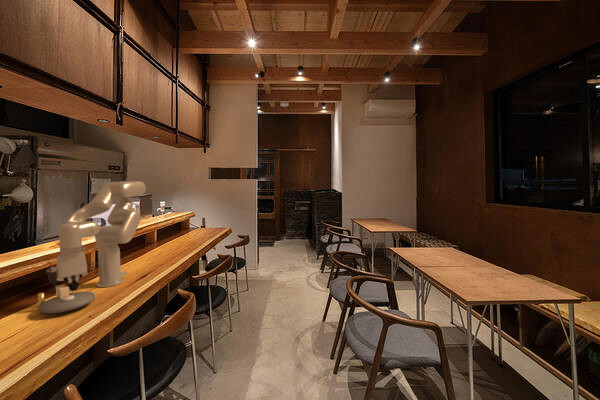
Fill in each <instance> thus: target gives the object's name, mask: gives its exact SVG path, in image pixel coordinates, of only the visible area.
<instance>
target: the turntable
mask: <svg viewBox="0 0 600 400" xmlns="http://www.w3.org/2000/svg"><path fill="white" fill-rule="evenodd" d="M55 295H56V296H55V297H51V298H49V299H47V300H45V302H43V303H41V304H40V305H39V310H38V311H39V312H40V313H41V314H57V313H59V314H60V313H65V312H64V311H67V312H70V311H69V310H71V311H74V310H76V309H78V308H81V307H84V306H86V305H89V304H91V303H93V301H95V299H96V294H95V293H94V292H93V291H75V292H71V293H70V290H69V285H66V284H59V285H57V286H56V292H55ZM73 309H74V310H73Z"/></svg>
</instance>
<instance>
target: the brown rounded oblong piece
mask: <svg viewBox="0 0 600 400" xmlns="http://www.w3.org/2000/svg"><path fill="white" fill-rule="evenodd" d="M45 301H46V300H45V292H38V293H37V305H38V311H39V305H40V304H41V303H43V302H45ZM74 310H75V309H73V310H69V311H64V312H63V313H66V312H71V311H74Z"/></svg>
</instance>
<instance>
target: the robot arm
mask: <svg viewBox="0 0 600 400" xmlns="http://www.w3.org/2000/svg"><path fill="white" fill-rule="evenodd" d="M146 190H147V188H146V184H145V183H144V182H143V181H139V180H138V181H137V180H135V181H134V180H132V181H131V180H124V181H123V180H122V181H109V182H105V183H103V184H102V186H101V188H100V189H99V190H98V191H97V193H96V195H95V196H94V198H93V199H92V200H91V201H90V202H89V203H87V204H85V205H83V206H82V207H81V208H78V209H77V210H76V211H74V212H73V213H72V214H71V215H70V216H69V218H68V219H67V221H66V222H65V223H64V224H61V225H60V226H59V227H58V243H59V255H57V257H56V258H57V259H56V266H57V267H56V273H57V281H59V282H62V281H64V282H66V283H68V287H69V291H71V292H74V291H75V292H77V290H78V288H79V283H78V282H79V280H81V278H82V277H84V276H87V275H88V274H89V273H88V264H87V258H86V255H85V254H86V253H85V252H84V250H87V247H86V245H85V246H84V245H83V243H82V238H91V237H94V238H95V242H96V246H97V259H98V278H99V279H98V280H99V281H97V282H96V283H95V286H96V287H97V288H109V287H114V286H118V285H121V284H123V283H124V282H125V278H124V277H123V276H125V275H127V274H128V270H124V271H122V268H121V251H120V250H121V249H120V246H119V245H118V244H127V243H130V241H132V239H133V237H134V235H135V233H136V232H137V229H138V227H139V224H140V222H141V214H140V212H139V211H138V210H136V209H133V207H134V204H133V201H132V200H131V198H132V197H138V196H140V197H141V196H143V194H145V193H146ZM115 201H116V202H115ZM114 203H115V204H114ZM113 205H114V206H113ZM112 206H113V208H112ZM111 208H112V210H111V211H110V209H111ZM109 211H110V213H109V215H108V216H107V224H109V225H103V226H101V225H100V224H99V223H98V222H95V221H90V220H89V219H91V218H93V217H95V216H97V215H98V216H99V215H102V214H104V213H106V212H109ZM88 220H89V221H88ZM72 277H73V280H72Z"/></svg>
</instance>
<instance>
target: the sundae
mask: <svg viewBox="0 0 600 400" xmlns="http://www.w3.org/2000/svg"><path fill="white" fill-rule="evenodd" d="M47 264H49V266H48V268H47V270H46V271H45V272H44V273H45V274H46V275H47V278H48V282H49V283H50V284H52V285H53V287H52V289H50V290H48V293H56V286H58V283H59V282H60V281H57V273H56V267H57V264H56V265H55V264H51V262H50V261H48V262H47Z"/></svg>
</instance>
